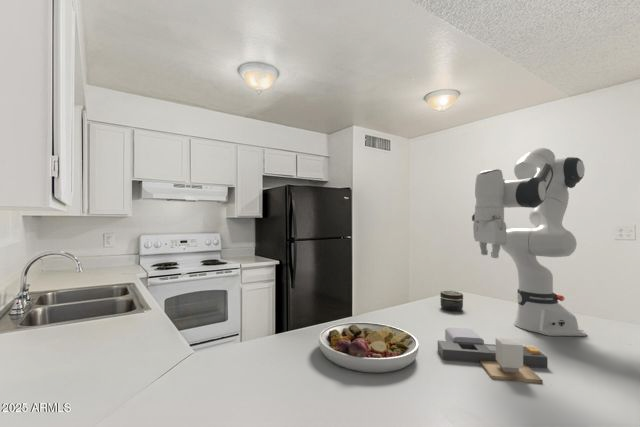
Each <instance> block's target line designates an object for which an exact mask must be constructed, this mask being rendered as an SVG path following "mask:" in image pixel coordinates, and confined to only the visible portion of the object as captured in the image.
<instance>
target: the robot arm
mask: <svg viewBox="0 0 640 427" xmlns="http://www.w3.org/2000/svg"><path fill="white" fill-rule="evenodd" d="M513 167H514V168H513V172H514V176H515V177H516V179H511V180H509V179H508V180H505V179H504V175H503V171H502V170H501V169H498V168H495V169H488V170H481V171H479V172H478V173H477V175H476V179H475V183H474V184H475V186H474V197H475V199H476V201H475V202H476V203H475V206H474V213H473V215H472V216H471V221H472V222H473V223H472V224H473V228H472V229H473V238H474V241H475V242H479V244H478V246H479V247H480V254H481V255H482V256H488V255H489V254H488V252H489V251H488V247H487V246H488V244H491V248H492V250H491V252H490V257H491V258H493V259H499V257H500V256H499V254H500V251H501V249H502V250H503V251H504V252H505V253H507V254H508V256H510V257H511V260H513V262H514V264H515V265H516V269H517V276H518V288H517V294H516V296H517V297H516V298H517V299H516V300H517V310H516V315H515V320H514V322H513V324H514V326H515V327H518V328H520V329H523V330H525V331H530V332H532V333H533V332H534V333H537V334H538V333H539V334H542V335H544V336H550V337H551V336H554V337H555V336H557V337H558V336H559V337H560V336H562V337H563V336H564V337H566V336H567V337H570V336H571V337H572V336H573V337H574V336H575V337H578V336H581V337H585V336H587V332H586V330H584V329H583V328H581V327H579V323H578V320H577V318H576V317H577V316H576V315H575V314H574V313H572V312H571V311H569V310H568V309H567V308H566V307H565V306H563V305H562V304H560V303H559V301H560V302H563V301H565V297H564V295H561V294H557V293H555V292H554V291H553V290H554V287H553V286H554V285H553V284H554V278H553V276H554V275H553V272H552V271H551V270H550V269H549V268H548V267H546V266H544V265H542V264H541V263H539V261H538V259H537V257H544V258H545V257H546V258H562V257H563V258H564V257H565V258H566V257H570V256H572V254H573V253H574V252H576V248H577V239H576V237H575V235H574V234H573V233H572V232H571V231H570V230H568V229H566V228H565V227H564V225H563V220H564V216H565V215H566V214H565V213H566V211H567V208H568V204H569V198H570V197H569V196H570V194H569V190H568V188H569V189H572V188H575V187H576V186H577V184H578V183H580V181H581V180H582V179H583V178H584V176H585V164H584V162H583V160H582V159H580V158H579V157H575V156H573V157H572V156H571V157H570V156H568V157H564V158H556V155H555V153H554V152H553V151H552V150H550V149H549V148H545V147H539V148H535V149H533V150H531V151H529V152H527V153H526V154H524V155H523V156H522V157H521V158H519V159H518V160H517V162H516V163H515V165H514V166H513ZM505 208H529V209H530V208H531V210H530V212H529V218H528V219H529V220H530V223H531V224H532V225H533V226H535V227H514V228H513V227H511V228H507V224H506V222H505Z"/></svg>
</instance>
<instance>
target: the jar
mask: <svg viewBox="0 0 640 427" xmlns="http://www.w3.org/2000/svg"><path fill="white" fill-rule="evenodd" d="M439 296H440V307H441V309H442V310H444V311H447V312H462V311H463V309H464V294H463V293H462V292H459V291H454V290H443V291H440V295H439Z"/></svg>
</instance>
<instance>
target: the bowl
mask: <svg viewBox="0 0 640 427" xmlns="http://www.w3.org/2000/svg"><path fill="white" fill-rule="evenodd" d="M318 345H319V348H320V351H321V352H322V353H323V355H324V356H325V357H326V358H327V359H328V360H329V361H331V362H332V363H334V364H336V365H338V366H340V367H342V368H345V369H348V370H352V371H356V372H362V373H389V372H394V371H398V370H401V369H404V368H406V367H407V366H409V365H410V364H412V362H414V361H415V359H416V357H418V353H419V346H420V345H419V341H418V339H417V338H416V337H415V336H414V335H413V334H411V333H410V332H408V331H406V330H405V329H404V330H403V329H401V328H398V327H396V326H392V325H388V324H382V323H378V322H377V323H376V322H369V321H368V322H365V321H354V322H343V323H342V322H341V323H337V324H334V325H331V326H328V327H325V328H324V329H323V330H322V331H321V332H320V333H319V334H318Z"/></svg>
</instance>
